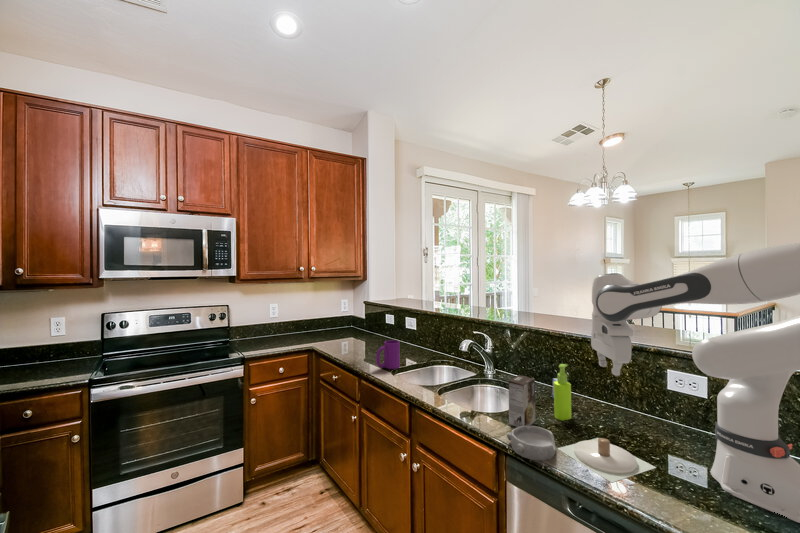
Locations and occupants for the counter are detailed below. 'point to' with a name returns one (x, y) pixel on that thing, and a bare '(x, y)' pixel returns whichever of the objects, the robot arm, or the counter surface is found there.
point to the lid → (605, 456)
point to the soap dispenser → (562, 395)
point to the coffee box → (521, 401)
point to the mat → (611, 477)
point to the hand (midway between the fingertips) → (609, 370)
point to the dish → (532, 442)
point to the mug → (390, 355)
